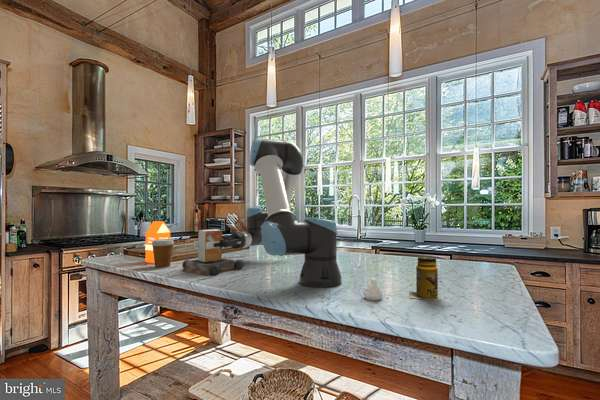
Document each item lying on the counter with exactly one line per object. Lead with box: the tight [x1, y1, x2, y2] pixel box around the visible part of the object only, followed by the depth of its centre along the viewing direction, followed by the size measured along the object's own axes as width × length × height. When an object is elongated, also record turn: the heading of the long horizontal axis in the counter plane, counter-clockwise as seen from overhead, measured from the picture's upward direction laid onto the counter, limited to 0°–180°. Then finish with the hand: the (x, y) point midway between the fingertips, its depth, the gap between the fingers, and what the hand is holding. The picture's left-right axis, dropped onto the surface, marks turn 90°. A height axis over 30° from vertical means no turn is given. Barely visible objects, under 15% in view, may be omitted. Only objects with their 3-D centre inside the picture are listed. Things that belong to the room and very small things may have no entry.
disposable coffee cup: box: [151, 238, 175, 269], centre depth 140 cm, size 10×10×12 cm
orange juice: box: [144, 220, 171, 264], centre depth 153 cm, size 8×9×20 cm
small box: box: [197, 228, 223, 262], centre depth 133 cm, size 8×6×13 cm
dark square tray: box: [181, 258, 245, 277], centre depth 134 cm, size 20×19×4 cm
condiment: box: [408, 256, 441, 302], centre depth 94 cm, size 7×8×12 cm
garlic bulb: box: [363, 277, 383, 301], centre depth 93 cm, size 6×6×5 cm
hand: (200, 245), depth 129 cm, fingers closed on small box, 7 cm apart
